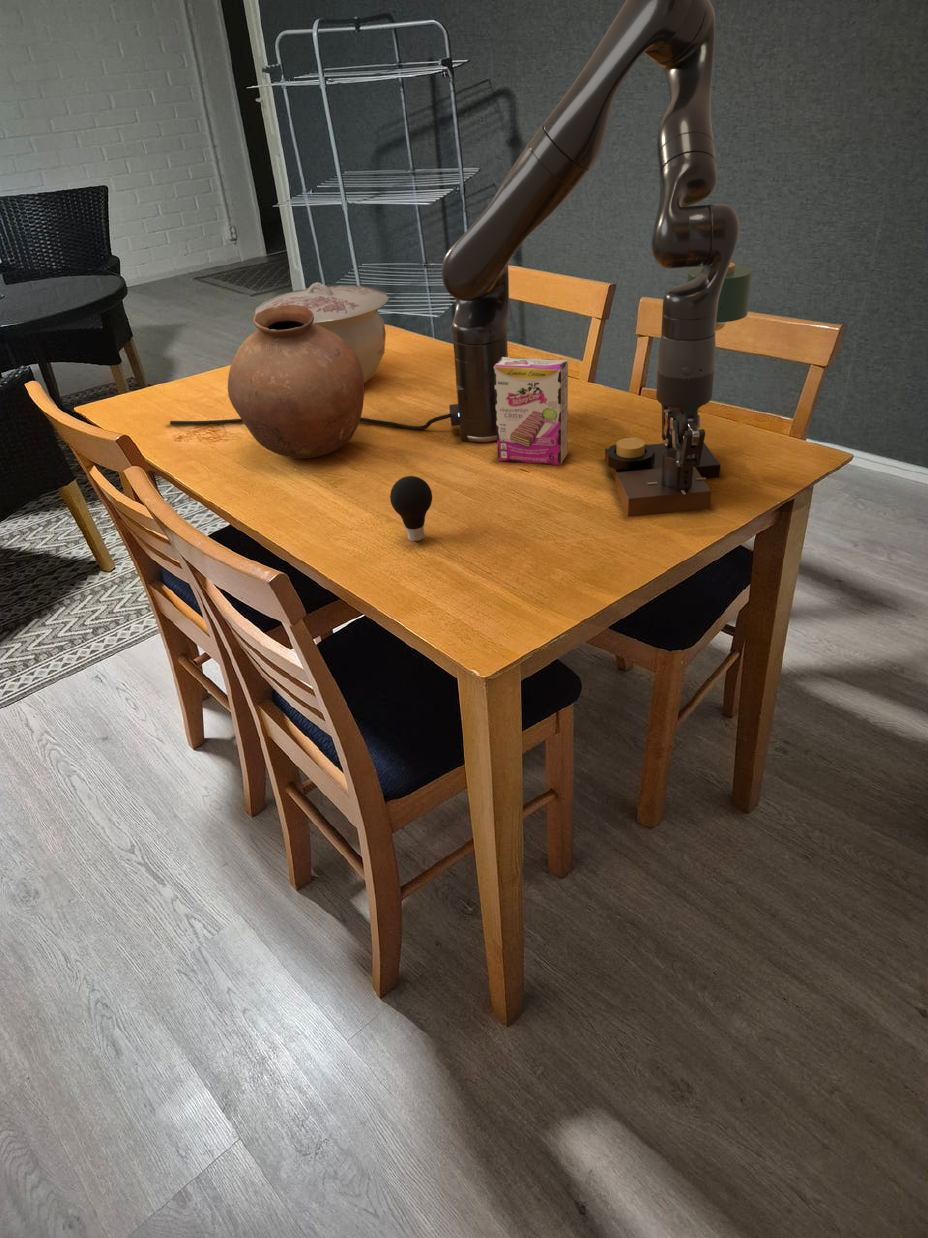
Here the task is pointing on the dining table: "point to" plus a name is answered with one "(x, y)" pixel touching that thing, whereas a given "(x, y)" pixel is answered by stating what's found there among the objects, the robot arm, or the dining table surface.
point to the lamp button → (630, 448)
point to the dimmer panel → (659, 493)
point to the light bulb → (412, 504)
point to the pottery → (296, 384)
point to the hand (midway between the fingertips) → (678, 480)
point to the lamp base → (657, 461)
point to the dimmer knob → (669, 467)
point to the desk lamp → (730, 293)
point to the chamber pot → (345, 317)
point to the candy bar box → (531, 410)
